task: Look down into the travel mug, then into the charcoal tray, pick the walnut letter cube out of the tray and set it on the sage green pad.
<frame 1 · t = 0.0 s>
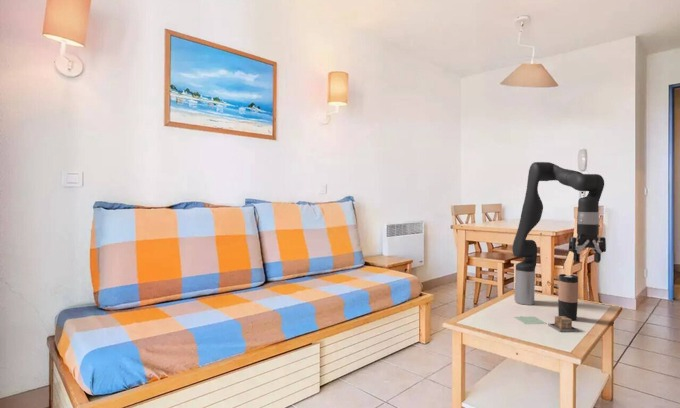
hand: (586, 262, 156), 29 cm above the table, tool pointing down, fingers open, 8 cm apart
letter cube: (562, 328, 161), resting on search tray
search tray: (562, 329, 161), on the table
travel mug: (567, 319, 175), on the table
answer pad: (530, 321, 172), on the table
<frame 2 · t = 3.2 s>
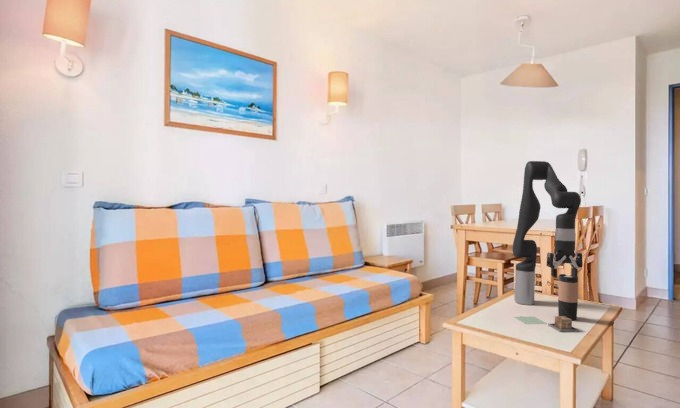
hand: (564, 277, 161), 22 cm above the table, tool pointing down, fingers open, 8 cm apart
nothing on the table moved.
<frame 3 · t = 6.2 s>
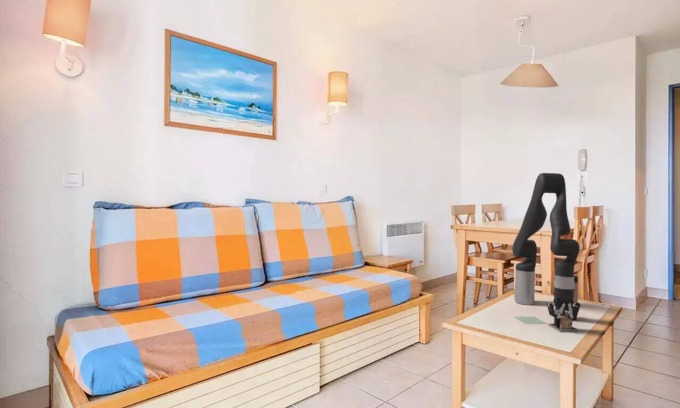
hand: (563, 326, 161), 1 cm above the table, tool pointing down, fingers closed on letter cube, 4 cm apart
letter cube: (563, 328, 161), resting on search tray, touching gripper
everything else where it was.
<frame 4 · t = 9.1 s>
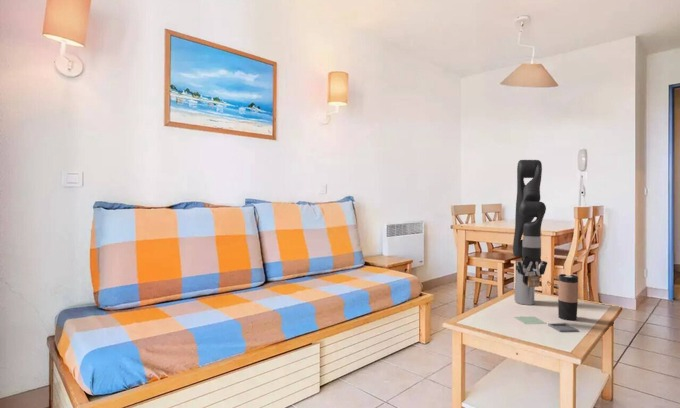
hand: (530, 283, 171), 17 cm above the table, tool pointing down, fingers closed on letter cube, 4 cm apart
letter cube: (530, 285, 171), point 16 cm above the table, touching gripper
everything else where it was.
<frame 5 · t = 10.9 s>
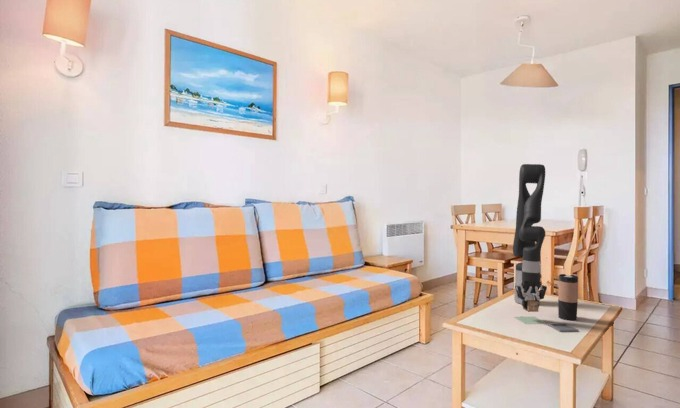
hand: (530, 308, 172), 6 cm above the table, tool pointing down, fingers closed on letter cube, 4 cm apart
letter cube: (530, 310, 172), point 5 cm above the table, touching gripper
everything else where it was.
when the fingers open (2 cm above the table, at t = 12.1 s): letter cube drops 1 cm, resting on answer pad.
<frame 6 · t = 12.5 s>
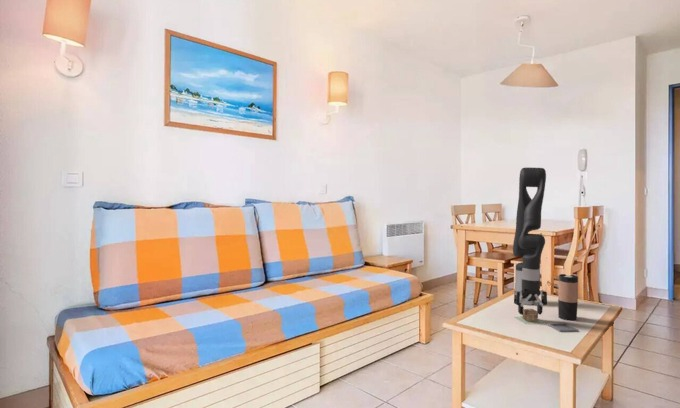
hand: (530, 314, 172), 3 cm above the table, tool pointing down, fingers open, 8 cm apart
letter cube: (530, 320, 172), resting on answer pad
everything else where it was.
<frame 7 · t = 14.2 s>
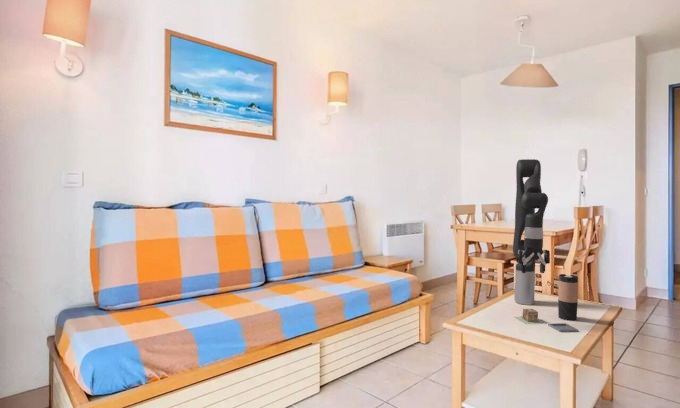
hand: (532, 272, 172), 22 cm above the table, tool pointing down, fingers open, 8 cm apart
nothing on the table moved.
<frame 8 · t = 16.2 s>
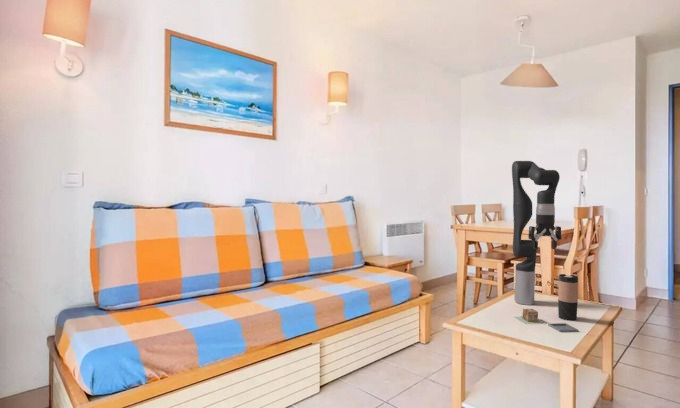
hand: (544, 249, 175), 32 cm above the table, tool pointing down, fingers open, 8 cm apart
nothing on the table moved.
at the end: letter cube inside the target area on the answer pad (0.0 cm from its centre), point 0.4 cm above the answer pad's base; letter cube tilted 0°; travel mug moved 0.2 cm from its start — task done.
